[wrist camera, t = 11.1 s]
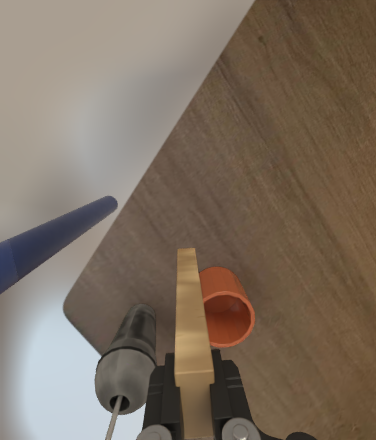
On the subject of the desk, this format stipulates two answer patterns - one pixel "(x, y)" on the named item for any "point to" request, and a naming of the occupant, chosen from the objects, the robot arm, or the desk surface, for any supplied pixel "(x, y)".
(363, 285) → the desk surface
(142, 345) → the beverage cup
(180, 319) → the wooden block
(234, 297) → the utensil cup
